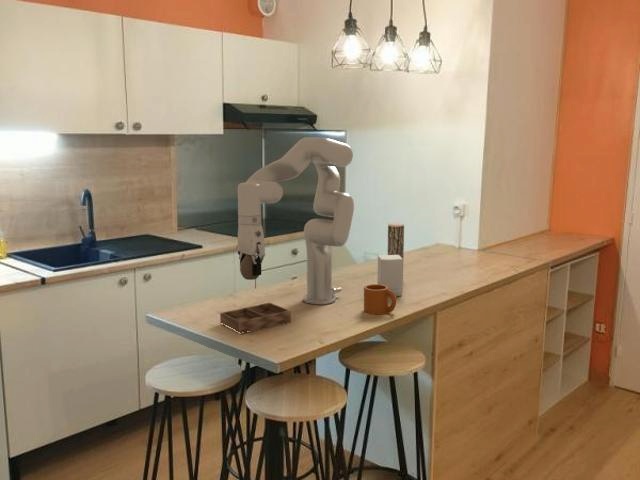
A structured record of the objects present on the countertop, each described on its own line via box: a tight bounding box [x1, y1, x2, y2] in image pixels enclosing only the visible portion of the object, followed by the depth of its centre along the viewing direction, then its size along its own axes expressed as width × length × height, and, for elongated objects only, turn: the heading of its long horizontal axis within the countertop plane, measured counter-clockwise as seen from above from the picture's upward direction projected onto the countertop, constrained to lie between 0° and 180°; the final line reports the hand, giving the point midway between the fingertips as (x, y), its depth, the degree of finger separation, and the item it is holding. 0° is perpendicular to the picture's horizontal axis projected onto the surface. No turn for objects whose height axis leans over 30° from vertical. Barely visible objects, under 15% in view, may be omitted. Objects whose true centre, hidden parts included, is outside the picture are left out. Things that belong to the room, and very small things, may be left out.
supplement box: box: [377, 254, 404, 297], centre depth 244 cm, size 9×9×15 cm
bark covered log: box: [387, 222, 405, 260], centre depth 261 cm, size 7×7×25 cm
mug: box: [363, 283, 397, 315], centre depth 220 cm, size 9×12×9 cm
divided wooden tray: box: [219, 302, 292, 333], centre depth 208 cm, size 20×13×4 cm, turn 128°
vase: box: [239, 254, 260, 281], centre depth 203 cm, size 7×7×9 cm
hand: (250, 272), depth 204 cm, fingers closed on vase, 6 cm apart
